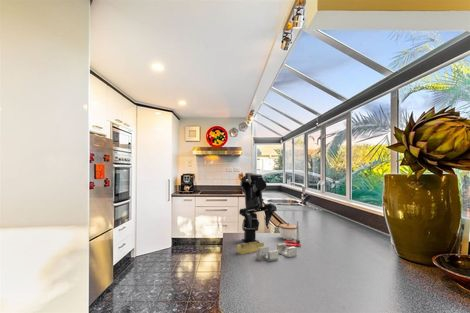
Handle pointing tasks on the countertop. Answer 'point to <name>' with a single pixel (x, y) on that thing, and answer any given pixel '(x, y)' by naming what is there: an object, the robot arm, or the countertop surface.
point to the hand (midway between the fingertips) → (258, 227)
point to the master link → (249, 247)
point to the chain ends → (275, 252)
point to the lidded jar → (288, 231)
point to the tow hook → (296, 240)
